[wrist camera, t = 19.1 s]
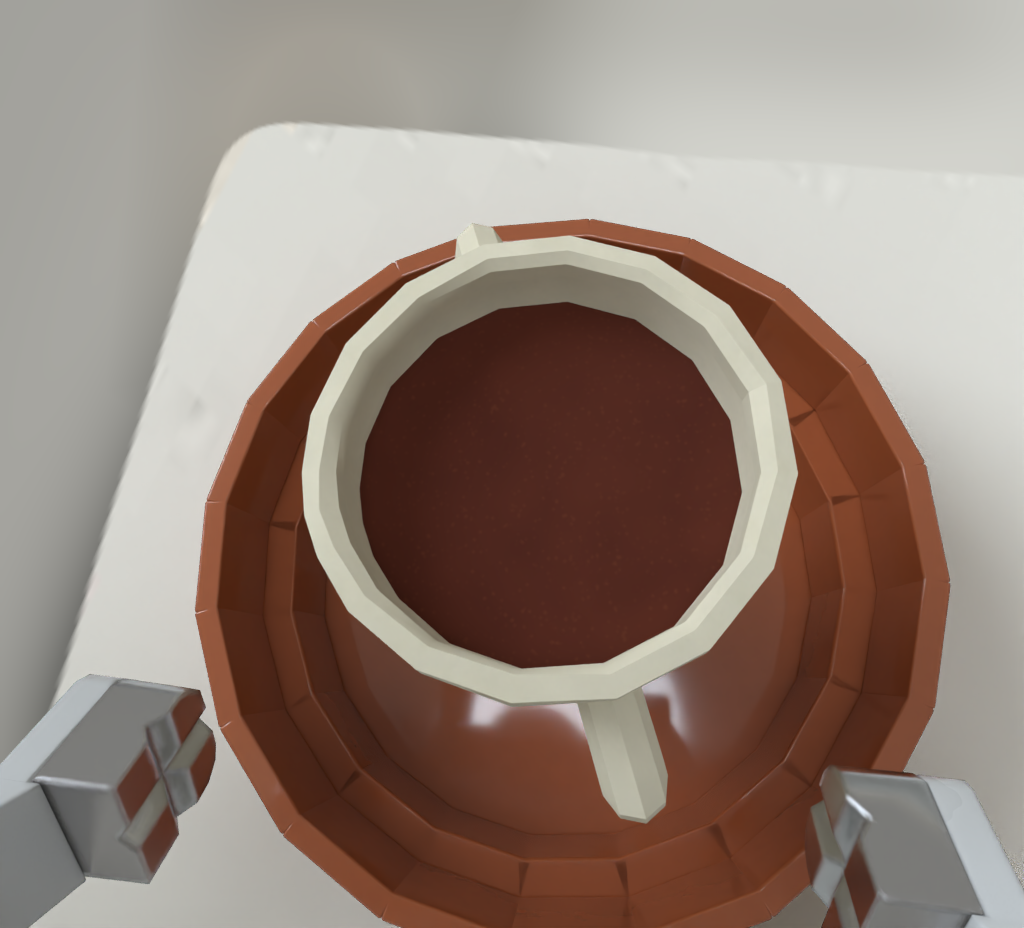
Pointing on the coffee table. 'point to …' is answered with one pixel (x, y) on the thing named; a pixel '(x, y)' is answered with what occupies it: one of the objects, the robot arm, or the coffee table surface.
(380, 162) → the coffee table surface
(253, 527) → the bowl
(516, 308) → the character mug
